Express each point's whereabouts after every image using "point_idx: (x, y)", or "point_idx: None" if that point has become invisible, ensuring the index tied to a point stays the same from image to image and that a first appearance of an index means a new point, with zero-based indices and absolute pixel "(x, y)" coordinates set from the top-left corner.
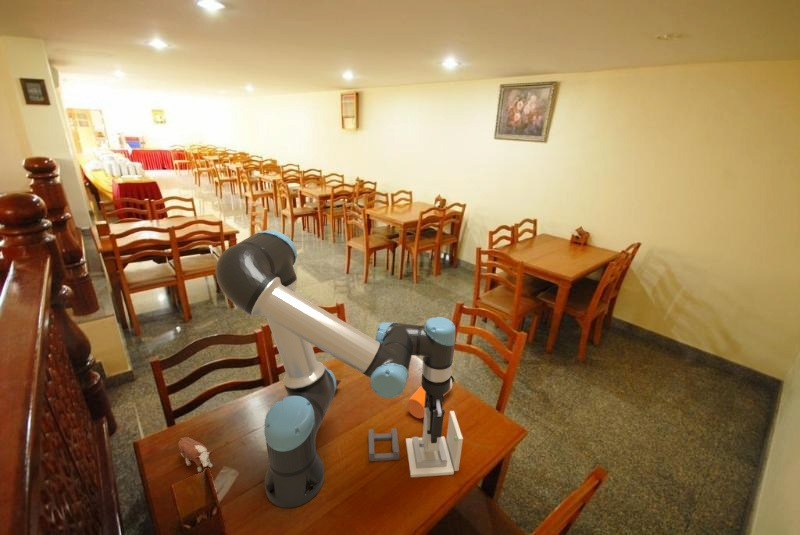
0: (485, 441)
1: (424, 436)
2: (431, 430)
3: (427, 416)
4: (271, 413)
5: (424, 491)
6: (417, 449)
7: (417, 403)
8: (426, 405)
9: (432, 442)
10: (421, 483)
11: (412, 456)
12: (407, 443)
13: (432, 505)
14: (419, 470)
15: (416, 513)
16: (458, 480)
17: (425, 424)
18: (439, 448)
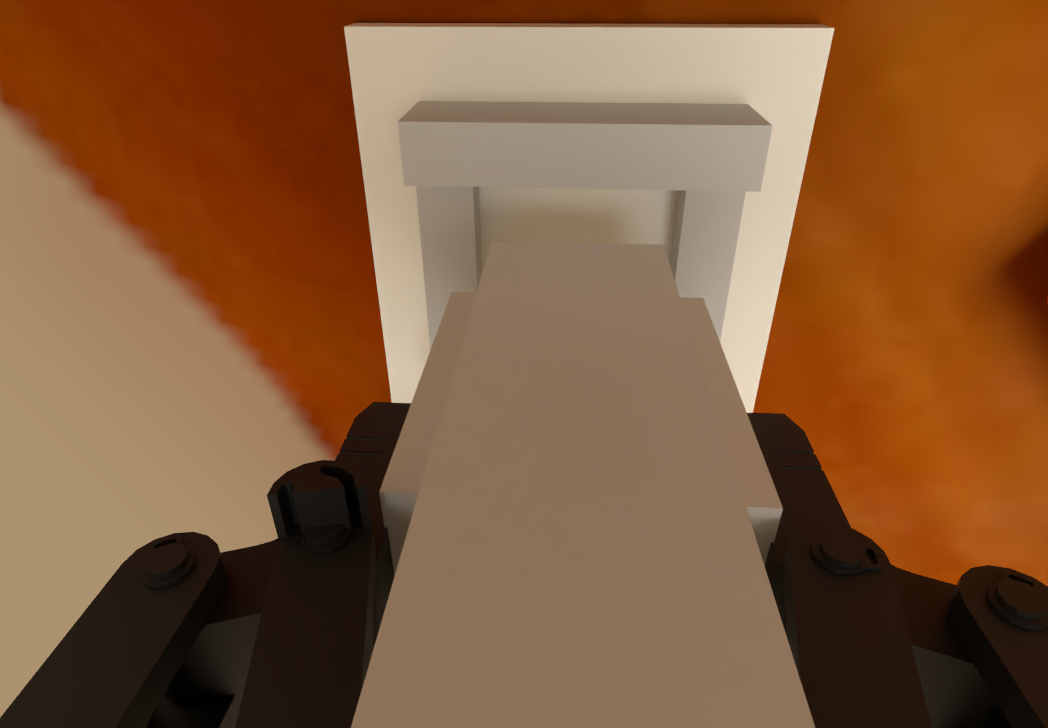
0: None
1: (561, 318)
2: (268, 599)
3: None
4: None
5: (226, 140)
6: (569, 156)
7: None
8: (1005, 701)
9: (358, 428)
10: (300, 125)
11: (568, 78)
12: (755, 40)
13: (116, 186)
14: (395, 130)
15: (6, 27)
16: (353, 417)
17: (545, 481)
18: None
